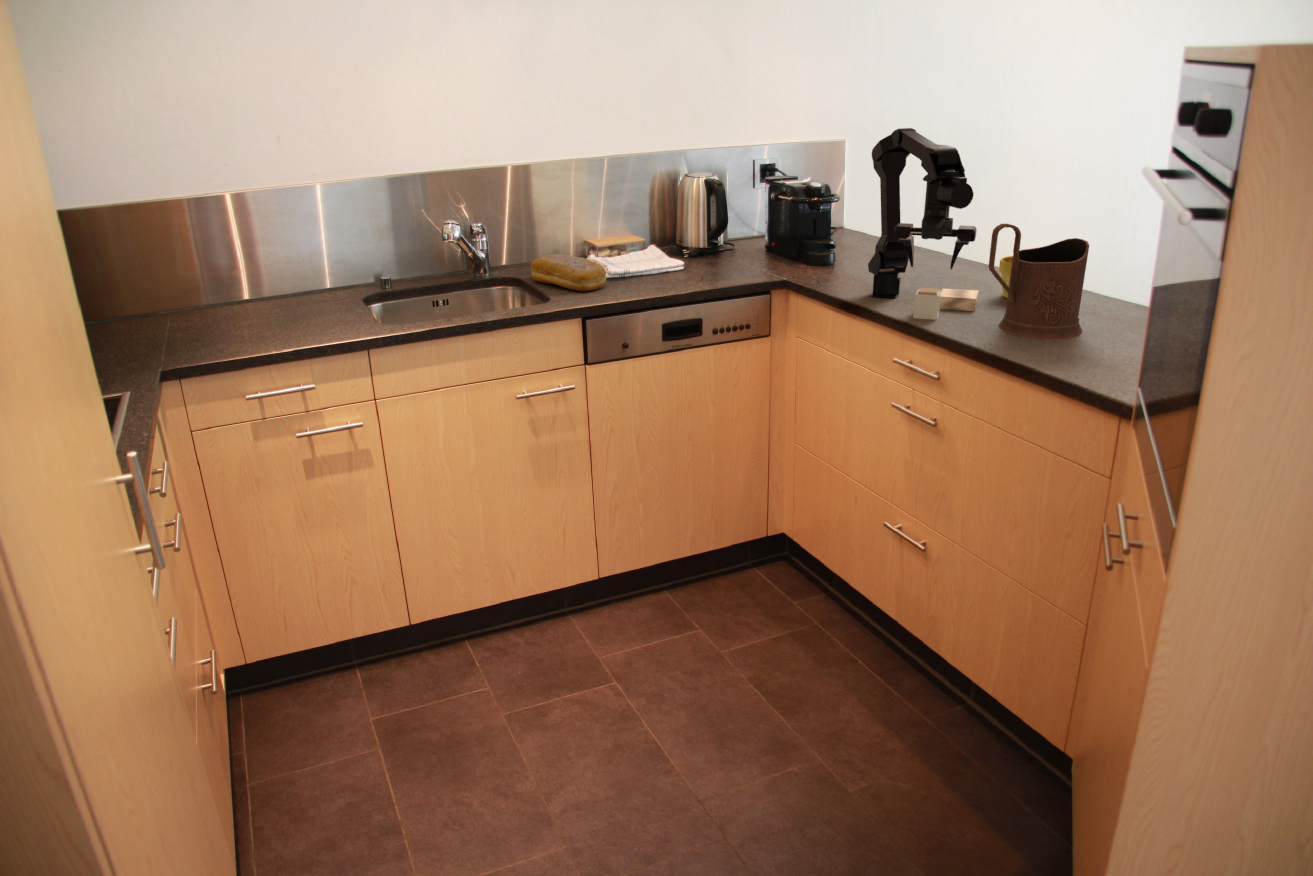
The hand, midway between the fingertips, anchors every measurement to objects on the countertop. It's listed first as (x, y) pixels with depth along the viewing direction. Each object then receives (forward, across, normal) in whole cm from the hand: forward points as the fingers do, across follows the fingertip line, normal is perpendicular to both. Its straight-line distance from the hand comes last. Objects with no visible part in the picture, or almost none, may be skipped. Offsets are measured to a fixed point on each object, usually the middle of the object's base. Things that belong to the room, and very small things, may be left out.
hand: (931, 267), depth 226 cm
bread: (+12, -102, +7) cm, 103 cm away
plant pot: (+12, +20, +26) cm, 35 cm away
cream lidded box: (+12, 0, 0) cm, 12 cm away
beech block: (+12, +6, +12) cm, 19 cm away
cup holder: (+12, +24, -6) cm, 27 cm away
